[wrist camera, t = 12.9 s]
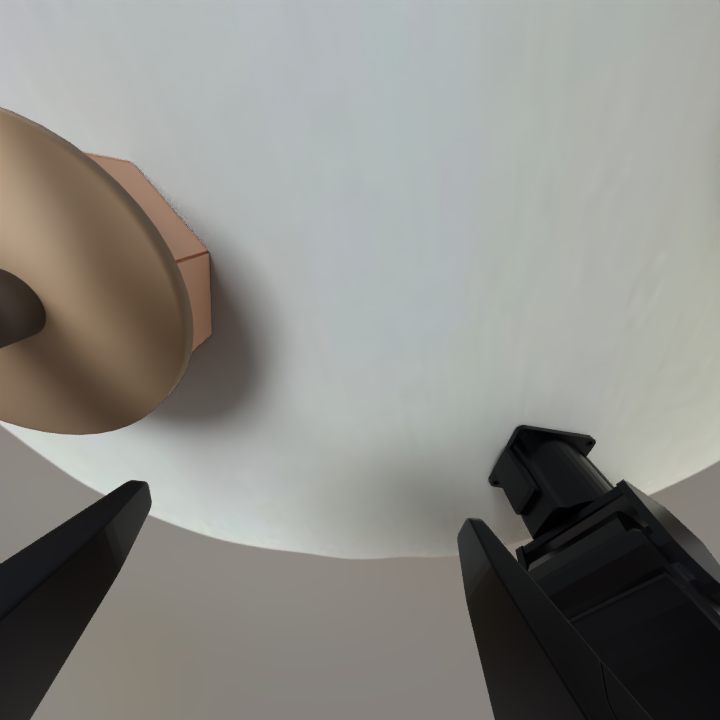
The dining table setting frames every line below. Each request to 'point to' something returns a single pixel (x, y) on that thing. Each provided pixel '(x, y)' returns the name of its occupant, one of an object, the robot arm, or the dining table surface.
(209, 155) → the dining table surface
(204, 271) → the terracotta bowl
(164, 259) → the walnut lid
